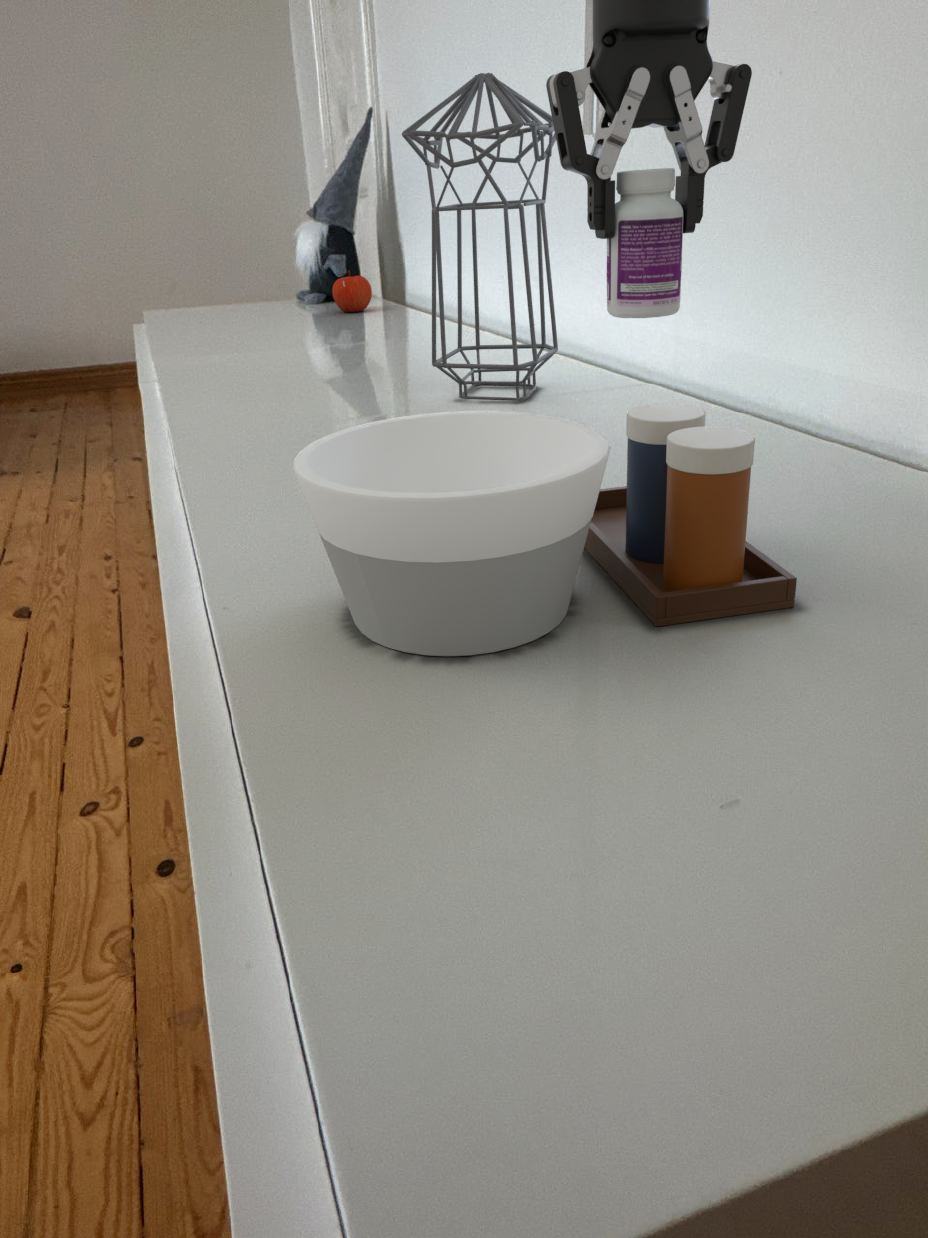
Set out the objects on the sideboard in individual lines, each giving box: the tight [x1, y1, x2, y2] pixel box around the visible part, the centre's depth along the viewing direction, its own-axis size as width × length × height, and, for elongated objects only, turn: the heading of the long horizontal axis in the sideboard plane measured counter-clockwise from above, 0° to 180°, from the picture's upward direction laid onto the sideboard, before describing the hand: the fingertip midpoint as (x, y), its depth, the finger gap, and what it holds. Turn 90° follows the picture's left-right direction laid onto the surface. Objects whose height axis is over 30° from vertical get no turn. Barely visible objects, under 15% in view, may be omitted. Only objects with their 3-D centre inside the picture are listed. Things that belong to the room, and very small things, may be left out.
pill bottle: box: [606, 167, 684, 319], centre depth 69 cm, size 5×5×10 cm
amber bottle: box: [663, 425, 756, 592], centre depth 61 cm, size 5×5×10 cm
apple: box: [332, 269, 373, 313], centre depth 195 cm, size 8×8×8 cm
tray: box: [584, 485, 798, 627], centre depth 69 cm, size 9×21×2 cm, turn 12°
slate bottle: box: [625, 402, 707, 563], centre depth 67 cm, size 5×5×10 cm
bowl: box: [292, 410, 611, 657], centre depth 61 cm, size 19×19×11 cm
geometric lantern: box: [401, 72, 559, 402], centre depth 113 cm, size 16×16×35 cm
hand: (645, 233), depth 68 cm, fingers closed on pill bottle, 5 cm apart
